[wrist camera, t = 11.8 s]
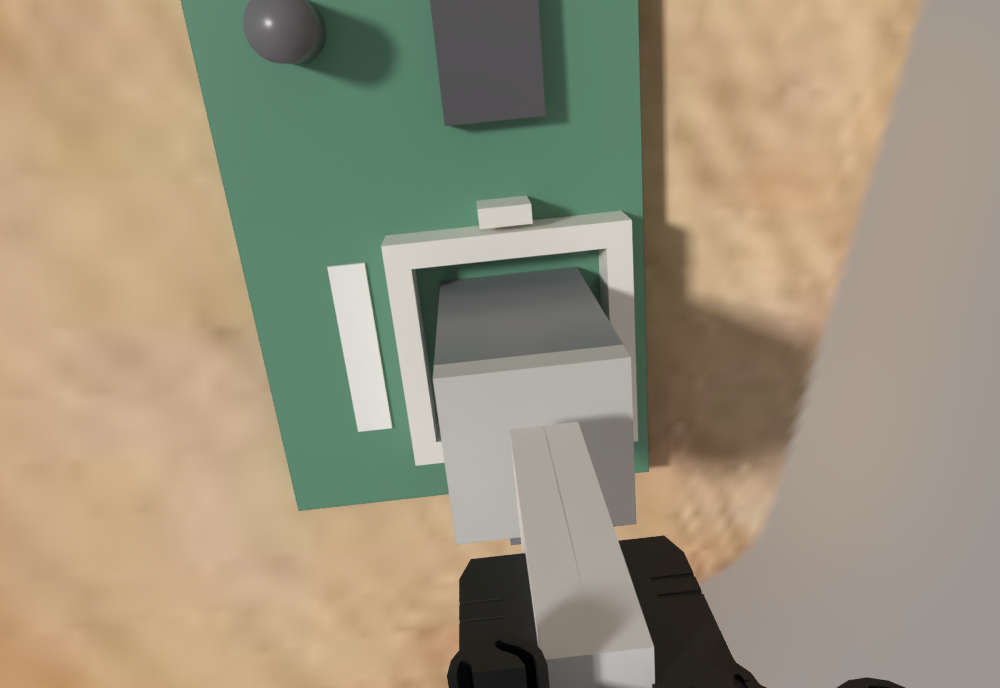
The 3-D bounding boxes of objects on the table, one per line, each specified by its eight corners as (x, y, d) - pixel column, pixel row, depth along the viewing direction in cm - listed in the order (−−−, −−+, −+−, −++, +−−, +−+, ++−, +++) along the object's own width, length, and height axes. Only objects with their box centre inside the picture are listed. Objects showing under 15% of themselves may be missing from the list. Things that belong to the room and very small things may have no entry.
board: (166, -112, 20) (119, -141, 17) (626, -157, 20) (652, -193, 18) (303, 495, 27) (286, 544, 25) (642, 458, 28) (663, 502, 25)
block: (440, 280, 24) (432, 379, 16) (576, 266, 24) (630, 357, 16) (459, 424, 26) (459, 570, 18) (584, 410, 26) (637, 550, 18)
